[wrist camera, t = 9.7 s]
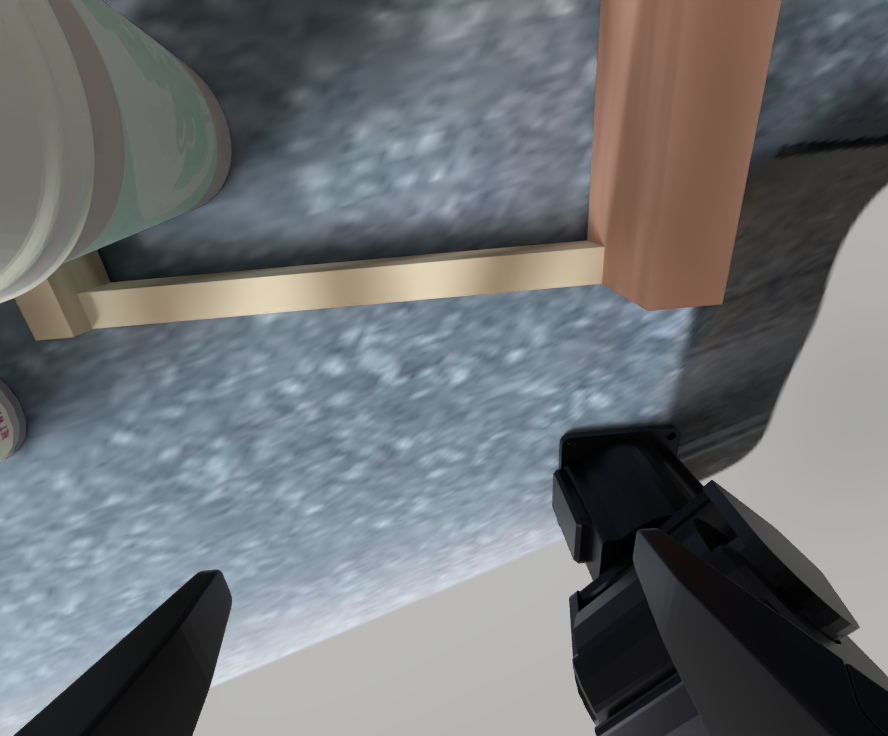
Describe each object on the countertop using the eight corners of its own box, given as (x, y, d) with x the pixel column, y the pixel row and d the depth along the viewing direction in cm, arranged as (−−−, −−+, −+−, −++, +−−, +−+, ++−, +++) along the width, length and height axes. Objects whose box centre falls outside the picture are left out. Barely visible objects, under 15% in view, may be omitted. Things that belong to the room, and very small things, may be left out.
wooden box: (685, -161, 14) (855, -381, 8) (638, 269, 20) (722, 304, 14) (-92, -99, 14) (-435, -283, 8) (90, 317, 19) (-41, 372, 14)
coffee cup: (272, 255, 19) (67, 360, 8) (67, 233, 18) (-468, 317, 7) (261, 17, 16) (-125, -365, 5) (8, -21, 15) (-1165, -583, 4)
